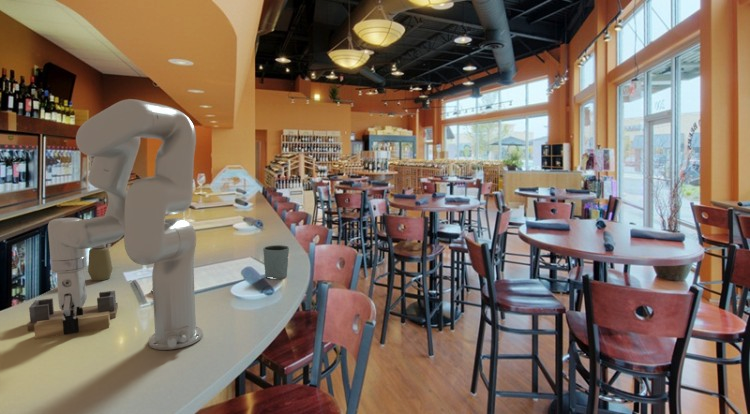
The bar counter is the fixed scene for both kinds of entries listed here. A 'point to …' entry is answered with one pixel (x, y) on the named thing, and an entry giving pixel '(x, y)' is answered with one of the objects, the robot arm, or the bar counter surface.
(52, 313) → the cradle board
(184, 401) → the bar counter surface
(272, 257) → the grey green cup
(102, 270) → the squeeze bottle
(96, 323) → the oak slat
